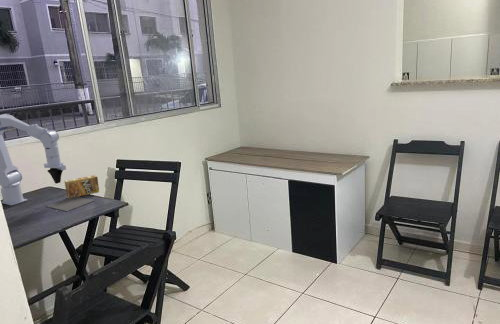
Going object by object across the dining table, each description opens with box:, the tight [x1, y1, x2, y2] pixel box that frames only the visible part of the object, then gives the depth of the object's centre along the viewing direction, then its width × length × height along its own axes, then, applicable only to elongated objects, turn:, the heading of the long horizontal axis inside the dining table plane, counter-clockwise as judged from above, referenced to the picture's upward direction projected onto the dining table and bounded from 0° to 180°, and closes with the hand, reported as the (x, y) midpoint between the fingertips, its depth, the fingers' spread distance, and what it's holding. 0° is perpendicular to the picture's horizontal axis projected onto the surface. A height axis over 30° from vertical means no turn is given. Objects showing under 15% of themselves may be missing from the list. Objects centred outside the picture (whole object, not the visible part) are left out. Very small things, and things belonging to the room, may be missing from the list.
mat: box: [46, 196, 96, 212], centre depth 177 cm, size 16×15×1 cm
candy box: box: [64, 174, 100, 199], centre depth 189 cm, size 9×4×15 cm
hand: (57, 182), depth 179 cm, fingers closed
